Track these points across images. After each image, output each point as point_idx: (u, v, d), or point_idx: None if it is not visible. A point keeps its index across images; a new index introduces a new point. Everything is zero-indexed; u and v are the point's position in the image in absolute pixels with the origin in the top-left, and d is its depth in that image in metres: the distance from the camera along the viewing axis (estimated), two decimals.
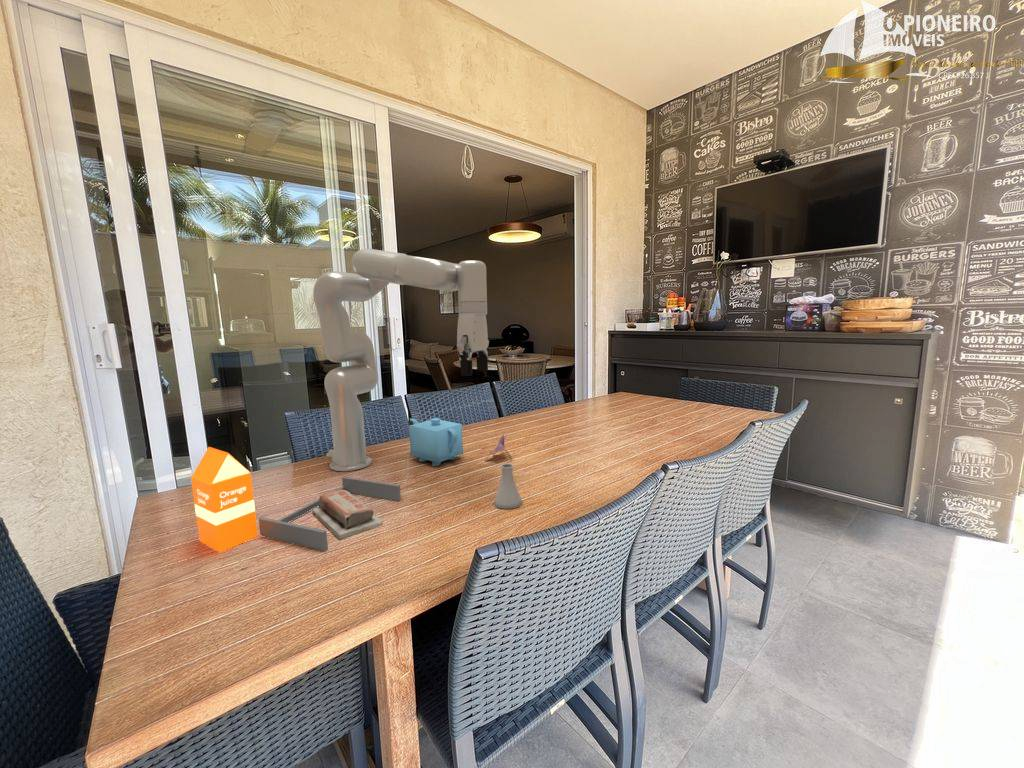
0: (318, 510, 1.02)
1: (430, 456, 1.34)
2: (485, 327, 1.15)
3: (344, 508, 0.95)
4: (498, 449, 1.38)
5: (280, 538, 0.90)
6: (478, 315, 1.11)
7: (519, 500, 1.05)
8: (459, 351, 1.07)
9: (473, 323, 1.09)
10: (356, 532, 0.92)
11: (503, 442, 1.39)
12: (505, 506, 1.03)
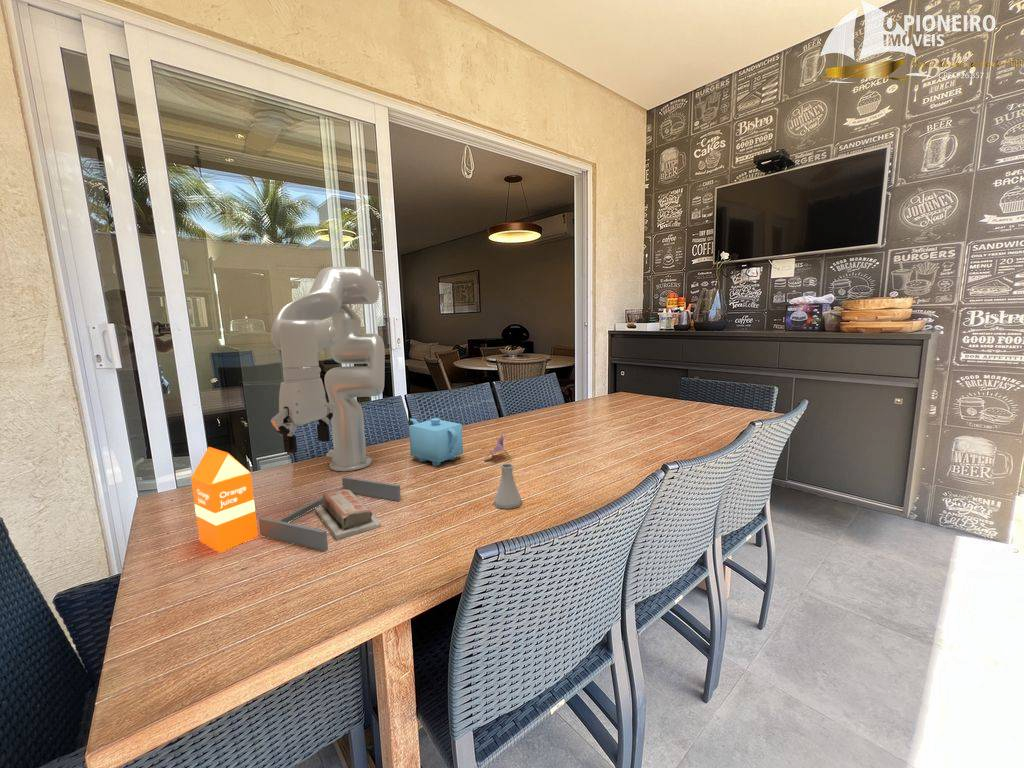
0: (321, 509, 1.02)
1: (430, 456, 1.34)
2: (320, 393, 1.00)
3: (343, 508, 0.95)
4: (497, 449, 1.38)
5: (280, 538, 0.90)
6: (304, 383, 0.95)
7: (519, 500, 1.05)
8: (275, 427, 0.92)
9: (295, 393, 0.94)
10: (353, 533, 0.92)
11: (502, 442, 1.39)
12: (505, 506, 1.03)
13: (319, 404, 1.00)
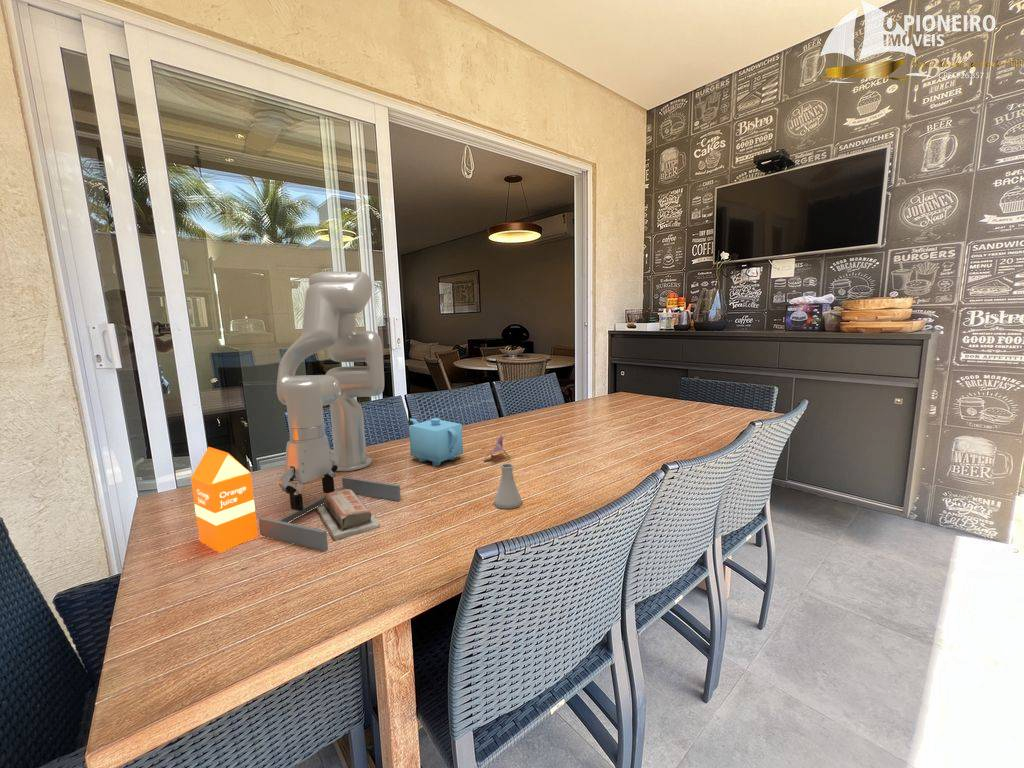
0: (322, 508, 1.03)
1: (430, 456, 1.34)
2: (326, 449, 1.03)
3: (343, 508, 0.95)
4: (496, 449, 1.38)
5: (280, 538, 0.90)
6: (309, 442, 0.98)
7: (519, 500, 1.05)
8: (282, 487, 0.94)
9: (301, 453, 0.96)
10: (352, 534, 0.92)
11: (501, 442, 1.39)
12: (505, 506, 1.03)
13: (324, 460, 1.02)
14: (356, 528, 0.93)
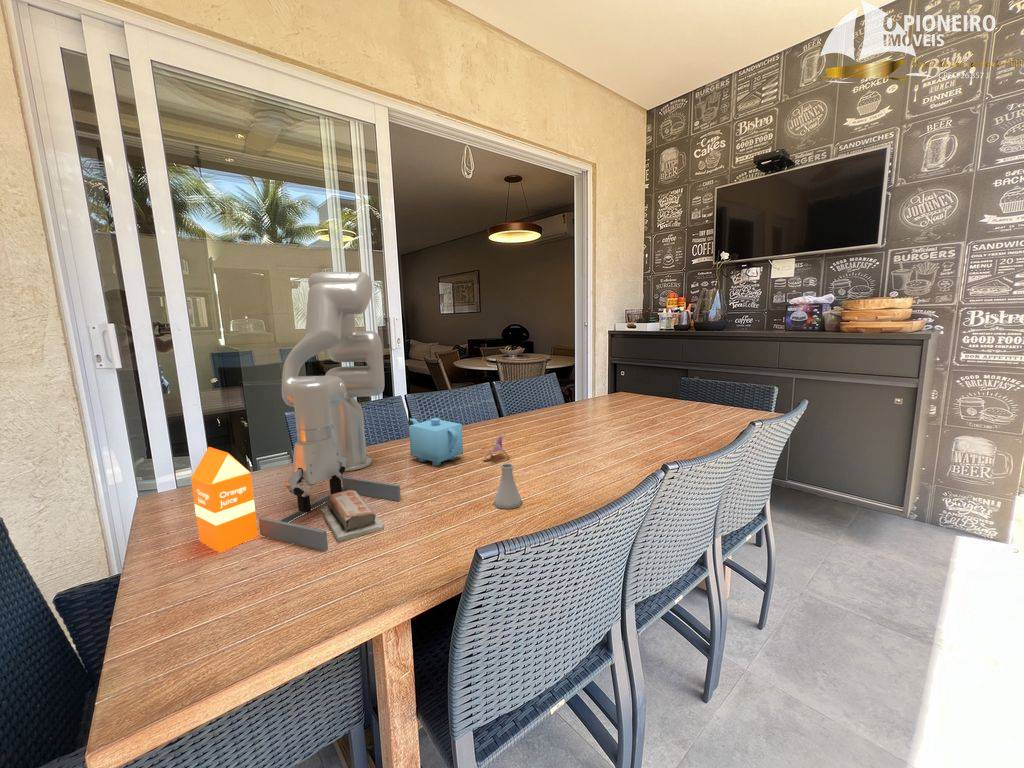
0: (326, 510, 1.02)
1: (430, 456, 1.34)
2: (333, 451, 1.02)
3: (347, 510, 0.94)
4: (496, 449, 1.38)
5: (280, 538, 0.90)
6: (317, 443, 0.97)
7: (519, 500, 1.05)
8: (290, 489, 0.94)
9: (309, 455, 0.95)
10: (355, 535, 0.91)
11: (501, 442, 1.39)
12: (505, 506, 1.03)
13: (332, 461, 1.01)
14: (360, 530, 0.92)
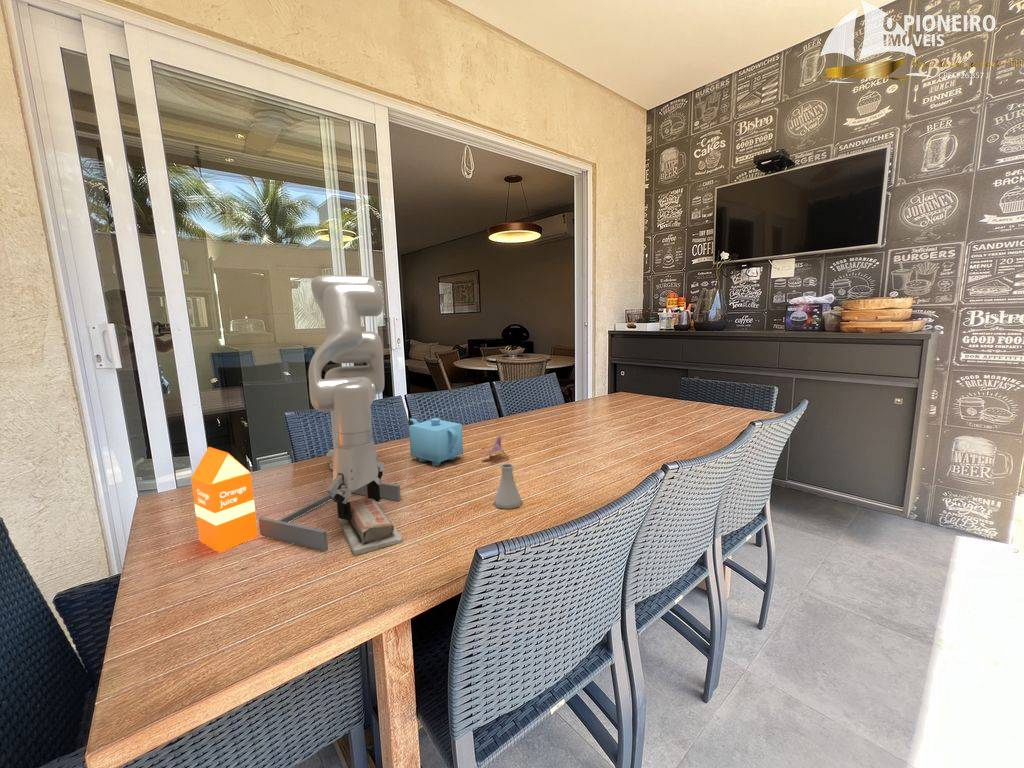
0: (343, 519, 0.97)
1: (430, 456, 1.34)
2: (373, 455, 0.98)
3: (364, 520, 0.89)
4: (495, 449, 1.37)
5: (280, 538, 0.90)
6: (358, 448, 0.93)
7: (519, 500, 1.05)
8: (331, 496, 0.90)
9: (350, 460, 0.91)
10: (373, 548, 0.86)
11: None
12: (505, 506, 1.03)
13: (371, 466, 0.97)
14: (378, 542, 0.87)
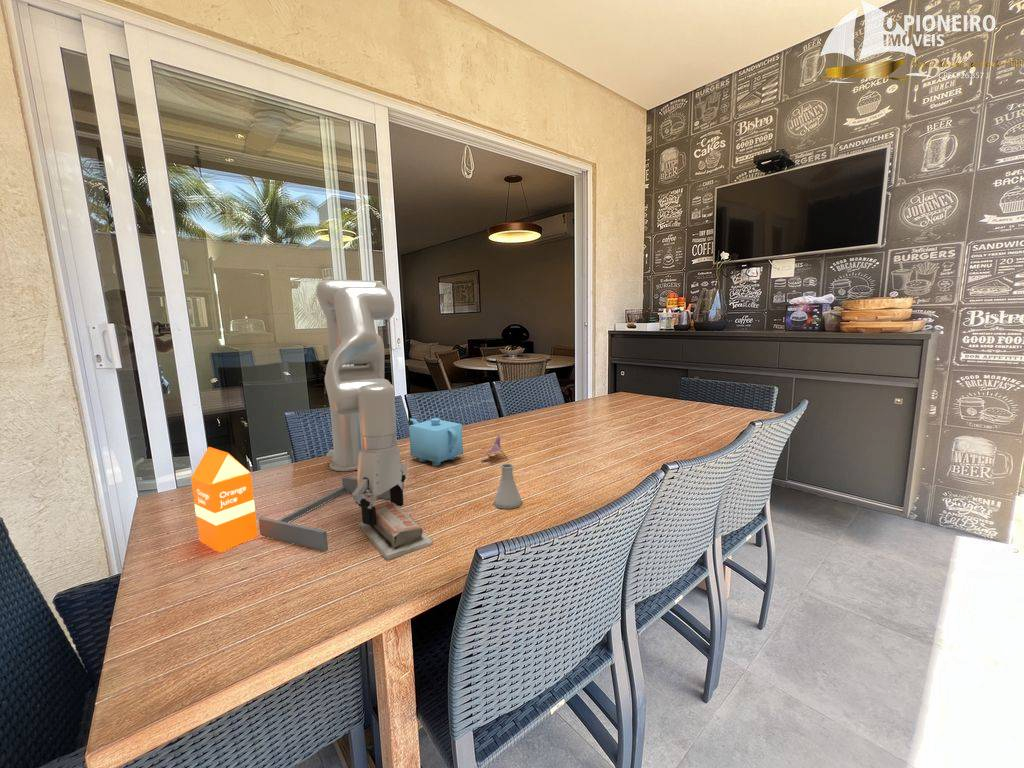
0: (365, 524, 0.95)
1: (430, 456, 1.34)
2: (397, 458, 0.95)
3: (392, 524, 0.88)
4: (494, 450, 1.37)
5: (280, 538, 0.90)
6: (383, 451, 0.91)
7: (519, 500, 1.05)
8: (356, 500, 0.87)
9: (375, 463, 0.89)
10: (404, 553, 0.84)
11: (499, 442, 1.39)
12: (505, 506, 1.03)
13: (396, 470, 0.95)
14: (408, 546, 0.86)
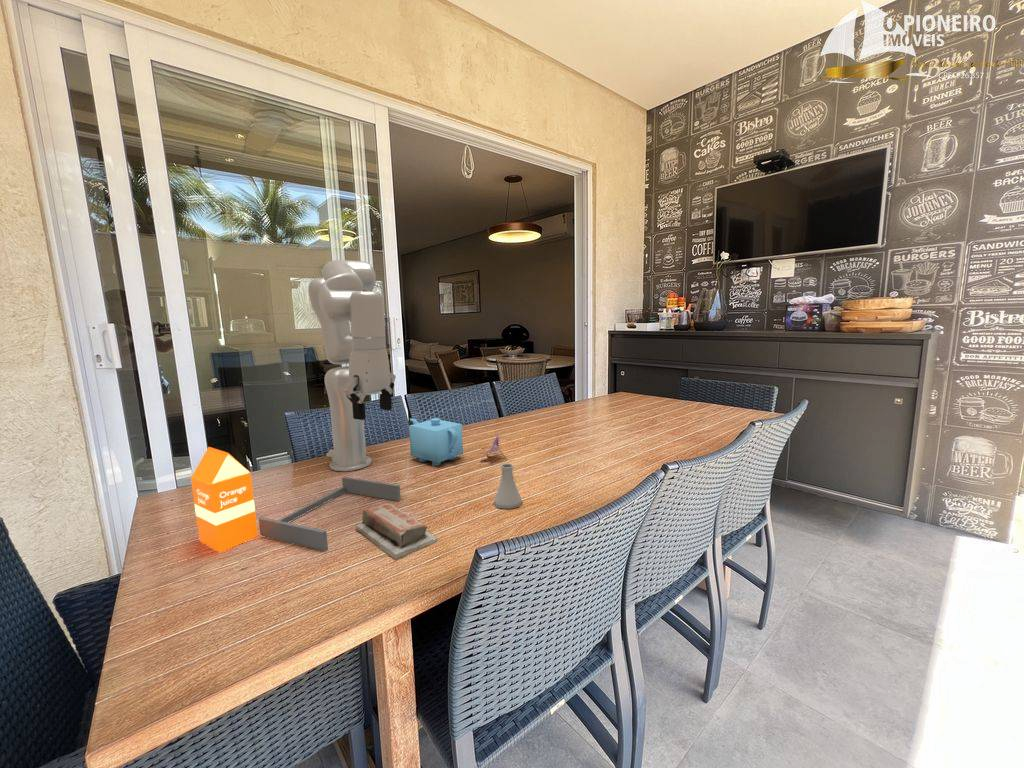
0: (363, 526, 0.94)
1: (430, 456, 1.34)
2: (386, 363, 1.04)
3: (396, 524, 0.88)
4: (493, 450, 1.37)
5: (280, 538, 0.90)
6: (372, 352, 0.99)
7: (519, 500, 1.05)
8: (347, 394, 0.96)
9: (365, 362, 0.97)
10: (411, 550, 0.85)
11: (497, 443, 1.39)
12: (505, 506, 1.03)
13: (384, 374, 1.03)
14: (414, 544, 0.86)
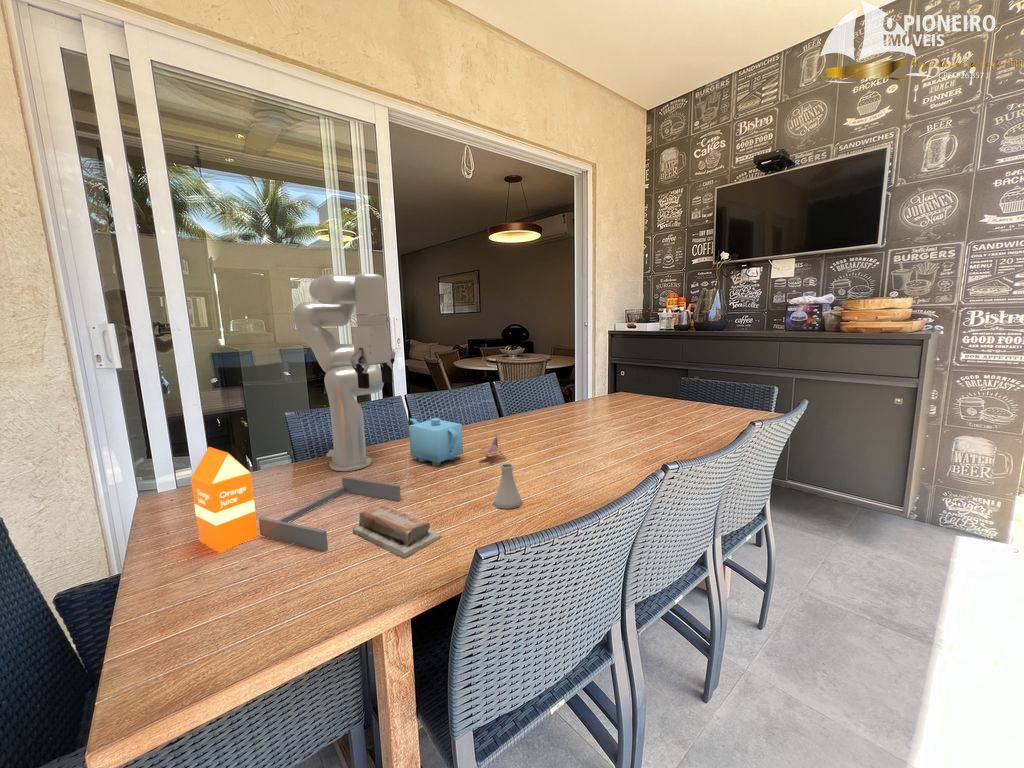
0: (361, 528, 0.93)
1: (430, 456, 1.34)
2: (387, 339, 1.15)
3: (400, 523, 0.88)
4: (492, 450, 1.37)
5: (280, 538, 0.90)
6: (375, 328, 1.11)
7: (519, 500, 1.05)
8: (353, 364, 1.07)
9: (368, 336, 1.09)
10: (418, 548, 0.86)
11: (496, 443, 1.38)
12: (505, 506, 1.03)
13: (386, 348, 1.15)
14: (420, 542, 0.87)
